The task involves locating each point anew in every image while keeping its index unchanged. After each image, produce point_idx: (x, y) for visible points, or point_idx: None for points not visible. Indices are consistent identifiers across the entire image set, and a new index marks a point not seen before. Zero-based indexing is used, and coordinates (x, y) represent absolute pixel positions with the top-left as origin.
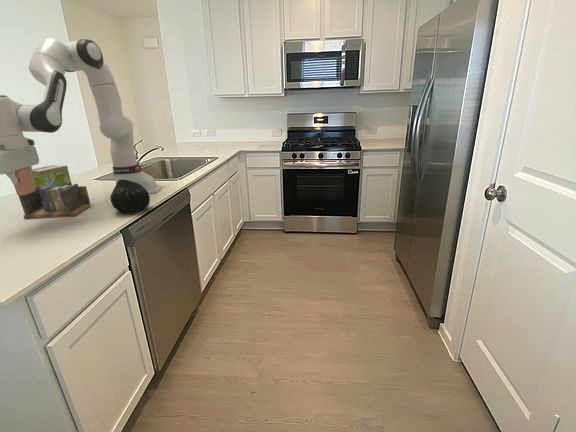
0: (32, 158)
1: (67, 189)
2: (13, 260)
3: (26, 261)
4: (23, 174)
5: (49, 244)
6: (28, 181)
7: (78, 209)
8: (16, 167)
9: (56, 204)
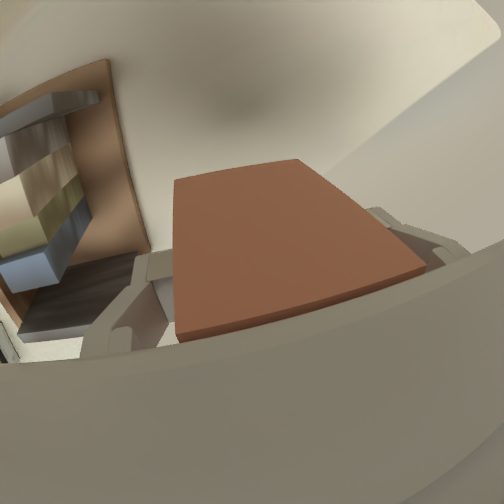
0: (14, 464)
1: (10, 114)
2: (446, 60)
3: (450, 34)
4: (324, 245)
5: (387, 10)
6: (247, 205)
7: (58, 83)
8: (482, 281)
9: (65, 175)
